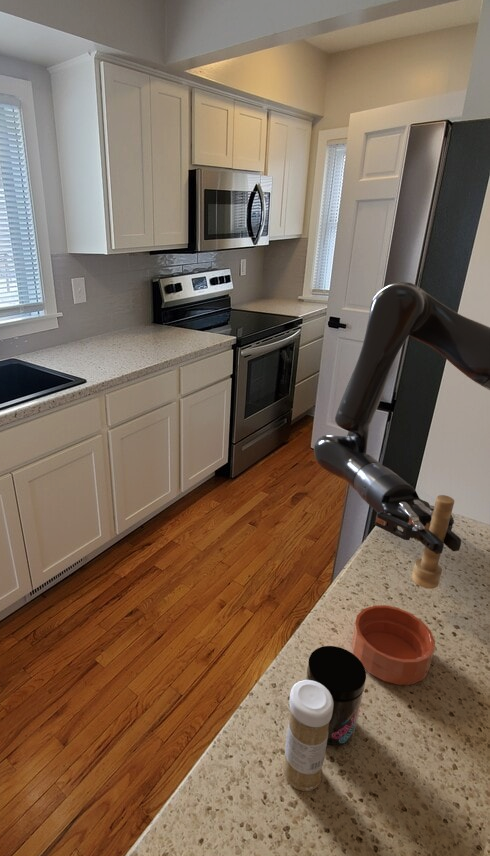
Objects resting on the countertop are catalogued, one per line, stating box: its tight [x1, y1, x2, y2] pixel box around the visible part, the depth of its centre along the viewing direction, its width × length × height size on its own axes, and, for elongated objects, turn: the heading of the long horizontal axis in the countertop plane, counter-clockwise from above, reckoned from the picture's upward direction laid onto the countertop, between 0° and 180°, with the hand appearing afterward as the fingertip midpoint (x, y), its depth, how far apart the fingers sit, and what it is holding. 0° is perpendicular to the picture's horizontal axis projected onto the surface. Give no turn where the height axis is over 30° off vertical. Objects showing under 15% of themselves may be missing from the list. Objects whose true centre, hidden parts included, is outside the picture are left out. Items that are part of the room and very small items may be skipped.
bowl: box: [350, 604, 436, 686], centre depth 72 cm, size 11×11×5 cm
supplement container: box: [306, 645, 367, 748], centre depth 61 cm, size 7×7×10 cm
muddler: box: [411, 494, 455, 590], centre depth 78 cm, size 4×4×16 cm
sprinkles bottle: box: [282, 679, 333, 792], centre depth 55 cm, size 5×5×14 cm
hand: (449, 547), depth 75 cm, fingers closed on muddler, 2 cm apart
